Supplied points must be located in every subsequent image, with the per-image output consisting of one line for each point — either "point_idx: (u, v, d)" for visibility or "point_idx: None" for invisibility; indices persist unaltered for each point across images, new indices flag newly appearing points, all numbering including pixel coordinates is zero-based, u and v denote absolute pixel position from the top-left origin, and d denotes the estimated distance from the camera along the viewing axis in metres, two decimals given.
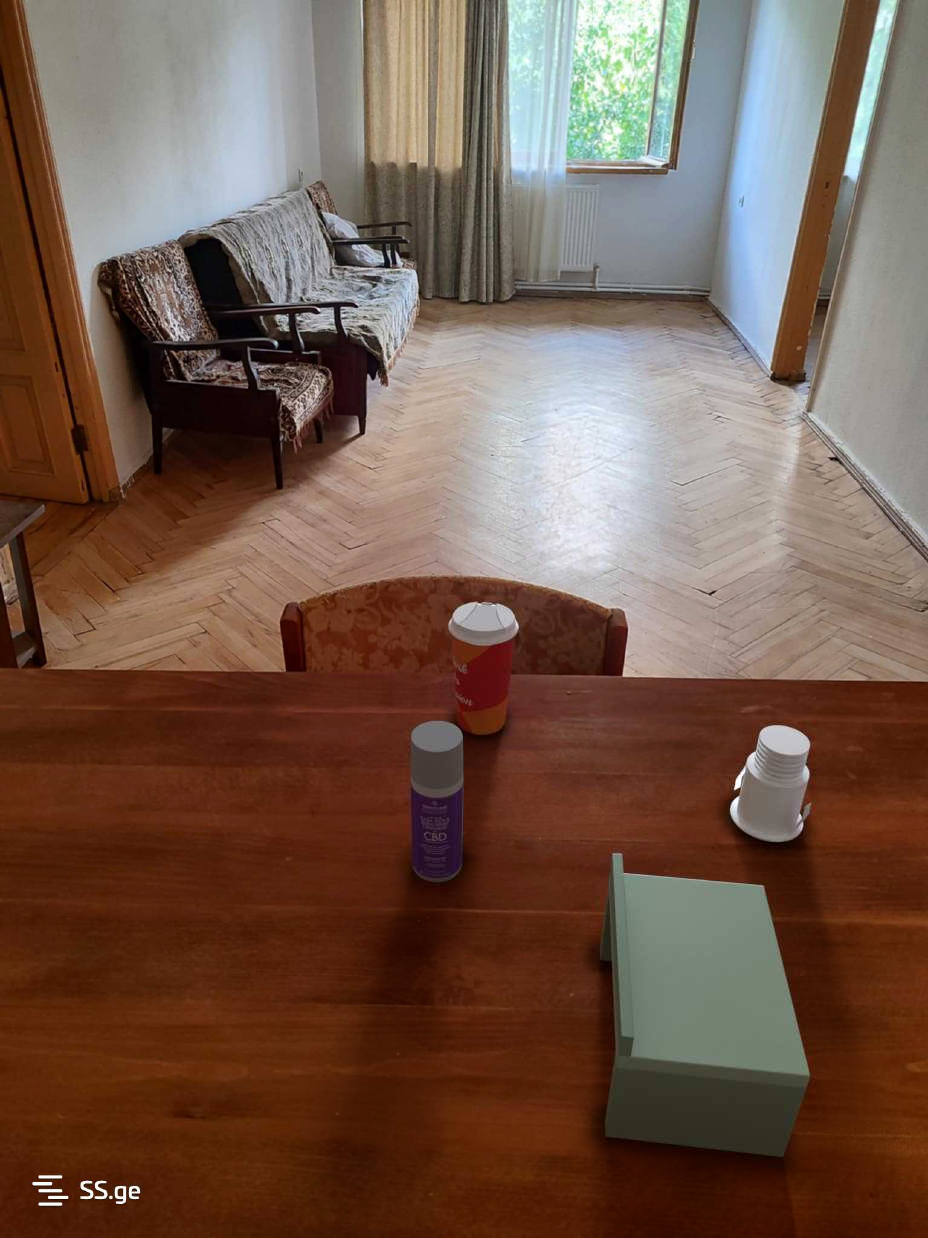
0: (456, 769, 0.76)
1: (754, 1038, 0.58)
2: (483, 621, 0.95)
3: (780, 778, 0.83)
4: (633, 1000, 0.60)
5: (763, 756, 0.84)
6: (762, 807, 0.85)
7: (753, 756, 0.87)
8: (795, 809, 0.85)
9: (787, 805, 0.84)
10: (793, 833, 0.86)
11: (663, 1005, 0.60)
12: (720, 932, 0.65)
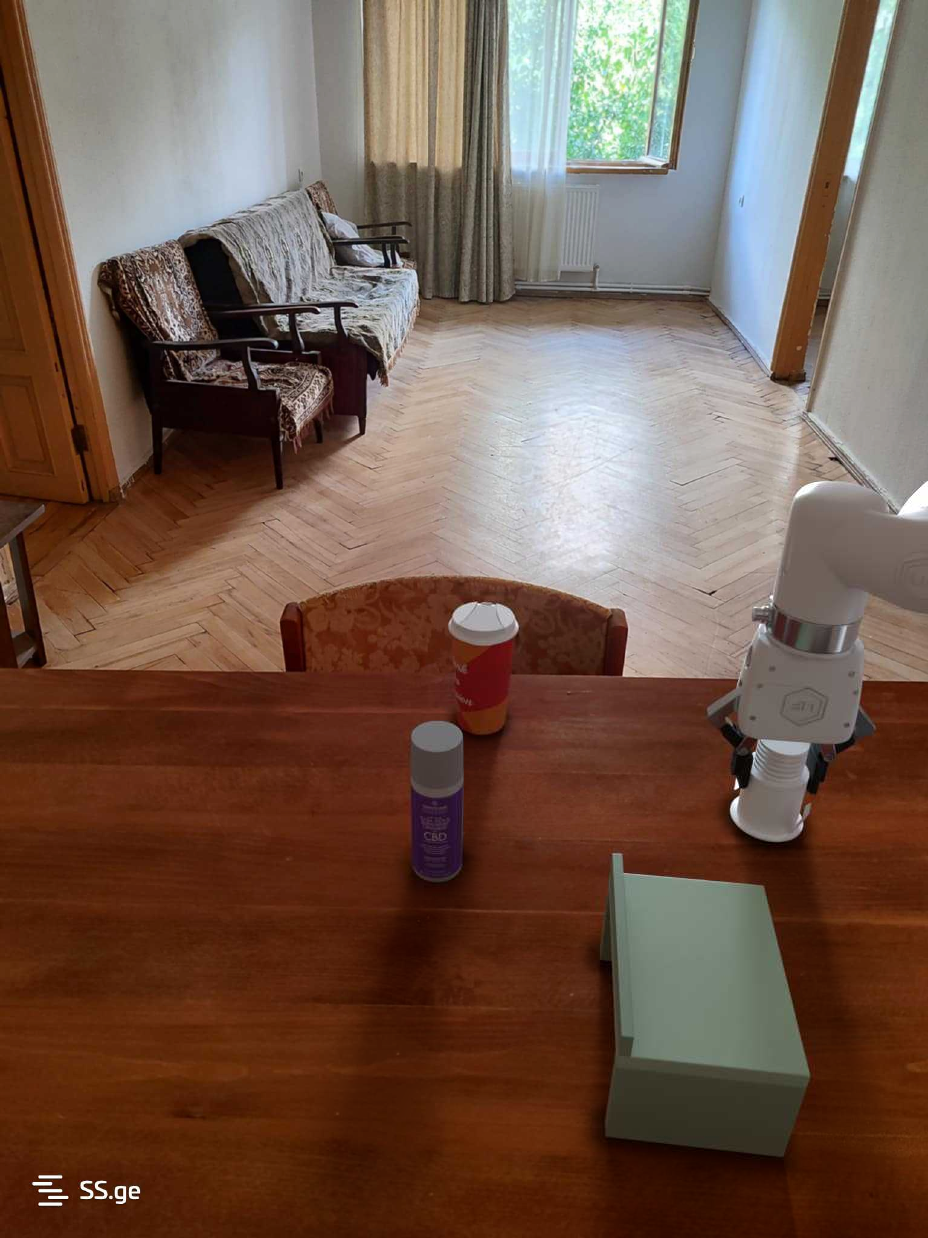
0: (456, 769, 0.76)
1: (754, 1038, 0.58)
2: (483, 621, 0.95)
3: (780, 778, 0.83)
4: (633, 1000, 0.60)
5: (763, 756, 0.84)
6: (762, 807, 0.85)
7: (753, 756, 0.87)
8: (795, 809, 0.85)
9: (787, 805, 0.84)
10: (793, 833, 0.86)
11: (663, 1005, 0.60)
12: (720, 932, 0.65)
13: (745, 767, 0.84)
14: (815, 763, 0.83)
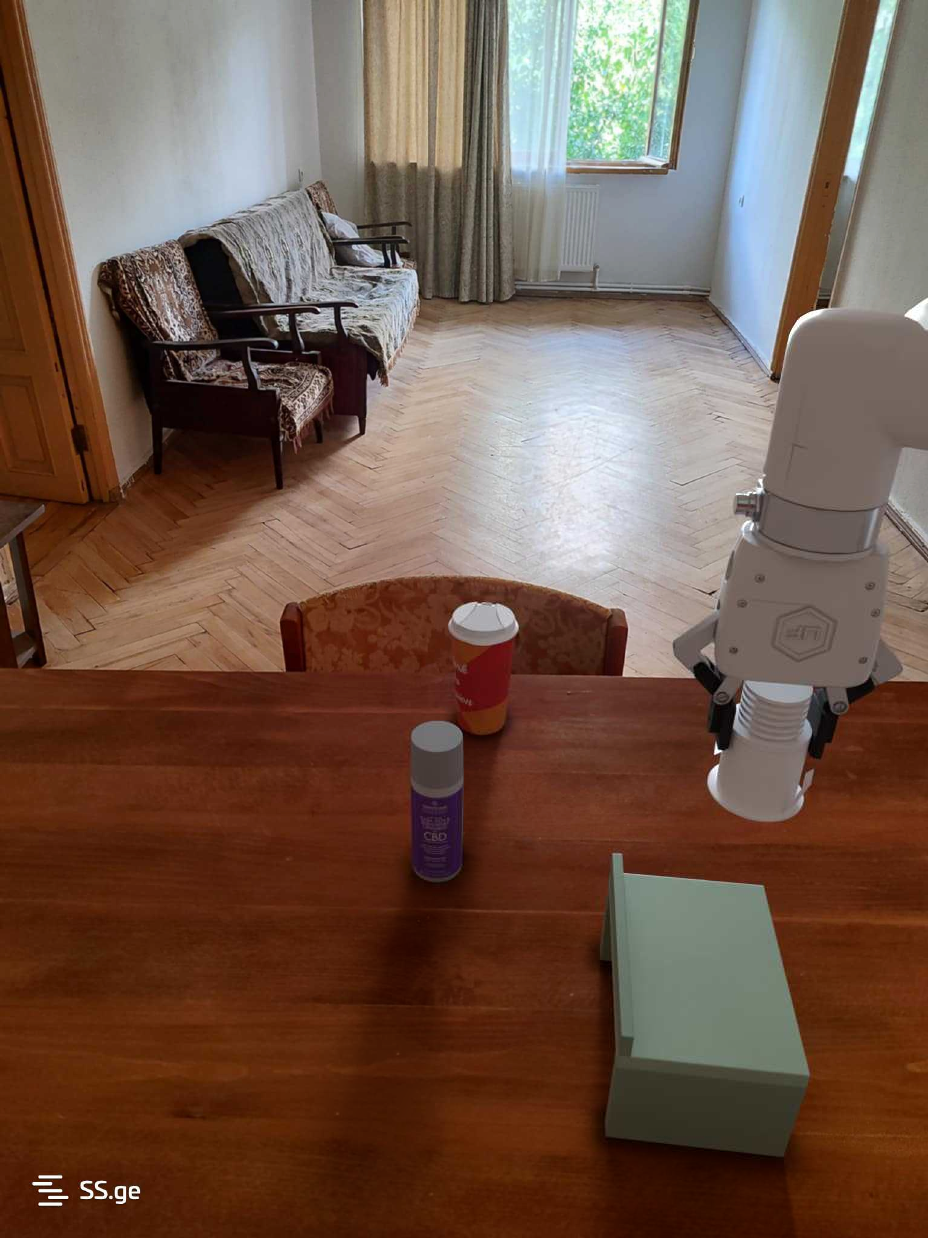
0: (456, 769, 0.76)
1: (754, 1038, 0.58)
2: (483, 621, 0.95)
3: (772, 735, 0.62)
4: (633, 1000, 0.60)
5: (749, 705, 0.62)
6: (748, 775, 0.63)
7: (738, 708, 0.66)
8: (793, 778, 0.63)
9: (781, 772, 0.63)
10: (790, 811, 0.65)
11: (663, 1005, 0.60)
12: (720, 932, 0.65)
13: (725, 720, 0.62)
14: (820, 716, 0.62)
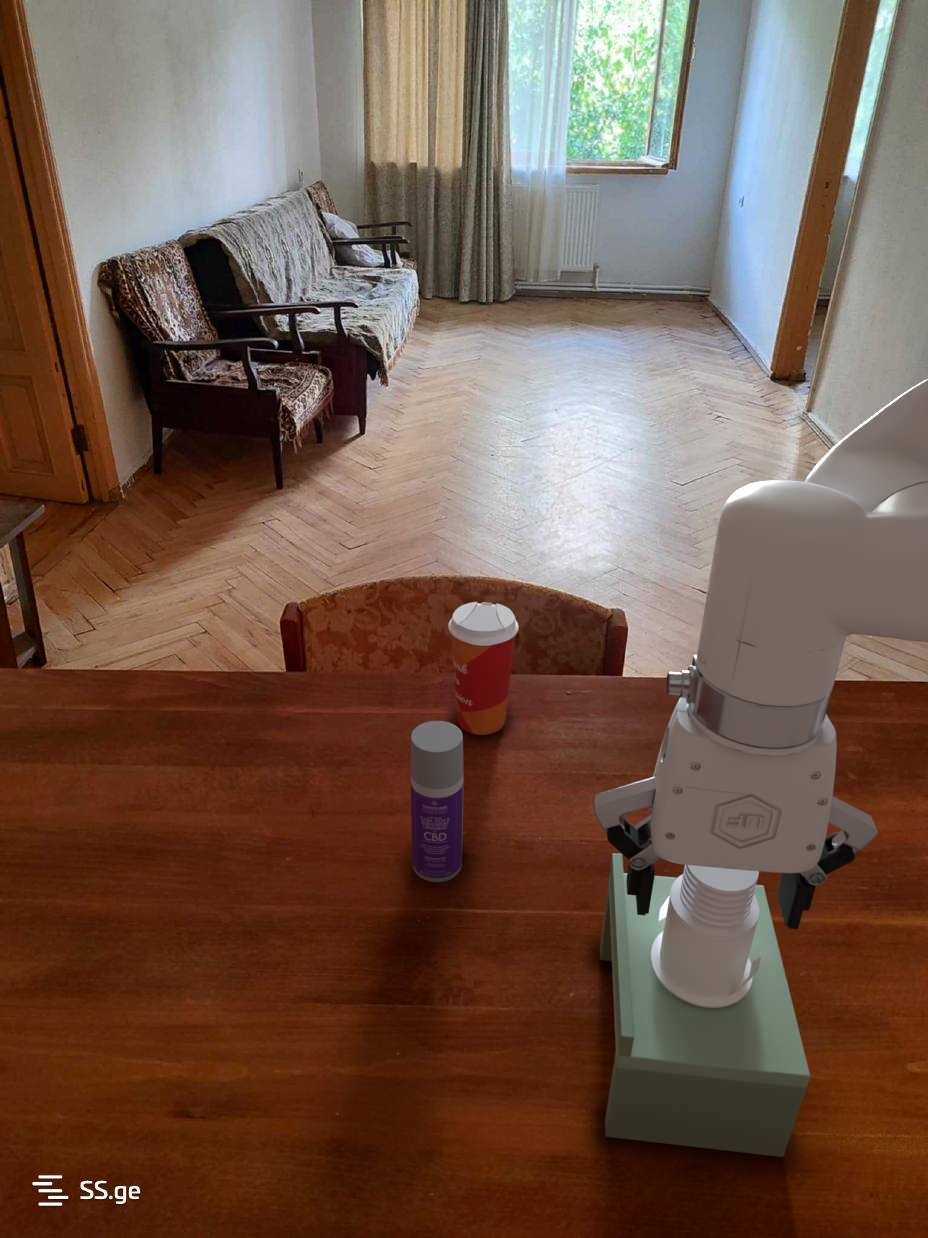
0: (456, 769, 0.76)
1: (754, 1038, 0.58)
2: (483, 621, 0.95)
3: (715, 921, 0.57)
4: (633, 1000, 0.60)
5: (691, 888, 0.57)
6: (691, 959, 0.59)
7: (681, 881, 0.61)
8: (739, 963, 0.59)
9: (726, 959, 0.58)
10: (738, 993, 0.60)
11: (663, 1005, 0.60)
12: None
13: (643, 887, 0.57)
14: (795, 886, 0.56)
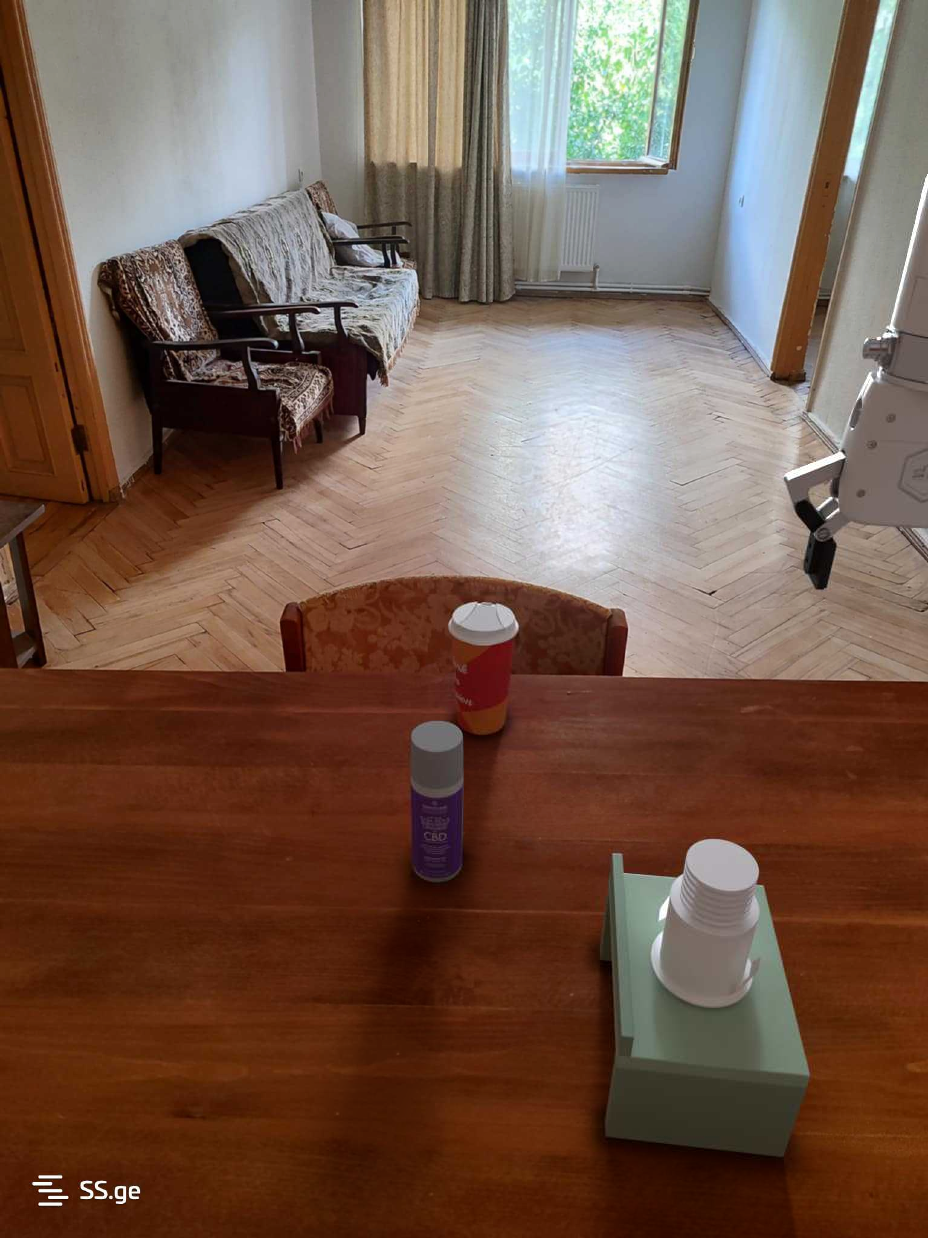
0: (456, 769, 0.76)
1: (754, 1038, 0.58)
2: (483, 621, 0.95)
3: (715, 921, 0.57)
4: (633, 1000, 0.60)
5: (691, 888, 0.57)
6: (691, 959, 0.59)
7: (681, 881, 0.61)
8: (739, 963, 0.59)
9: (726, 959, 0.58)
10: (738, 993, 0.60)
11: (663, 1005, 0.60)
12: None
13: (825, 557, 0.65)
14: None
